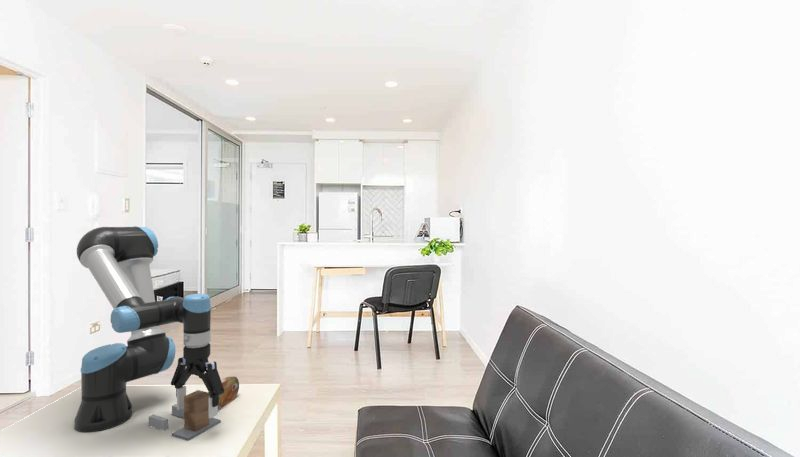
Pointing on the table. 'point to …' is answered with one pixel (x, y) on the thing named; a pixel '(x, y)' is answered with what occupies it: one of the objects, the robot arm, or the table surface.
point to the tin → (228, 391)
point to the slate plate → (189, 434)
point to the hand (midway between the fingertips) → (197, 412)
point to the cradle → (163, 422)
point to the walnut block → (196, 410)
